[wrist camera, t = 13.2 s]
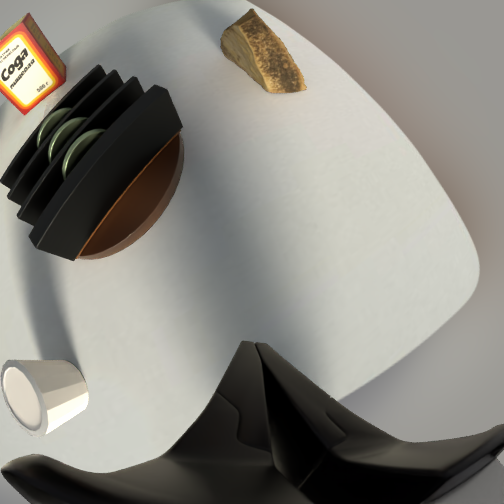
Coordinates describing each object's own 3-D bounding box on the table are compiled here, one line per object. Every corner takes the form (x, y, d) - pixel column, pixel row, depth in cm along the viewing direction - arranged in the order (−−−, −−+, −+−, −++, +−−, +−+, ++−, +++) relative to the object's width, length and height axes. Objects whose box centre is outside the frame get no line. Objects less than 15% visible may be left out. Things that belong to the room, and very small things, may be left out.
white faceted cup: (38, 377, 20) (-7, 385, 13) (62, 339, 20) (12, 342, 14) (76, 428, 18) (34, 449, 12) (105, 395, 19) (58, 415, 12)
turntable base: (192, 239, 22) (187, 234, 20) (39, 272, 22) (30, 270, 21) (181, 89, 26) (178, 80, 24) (56, 136, 26) (50, 131, 24)
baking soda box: (24, 115, 28) (-25, 64, 12) (27, 97, 29) (-15, 49, 14) (65, 81, 29) (21, 20, 13) (65, 66, 30) (28, 10, 14)
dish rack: (186, 133, 22) (165, 83, 16) (80, 263, 20) (30, 246, 14) (118, 98, 24) (95, 60, 18) (33, 200, 22) (-5, 177, 16)
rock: (197, 43, 25) (199, 80, 21) (234, -10, 18) (248, 11, 15) (269, 71, 31) (287, 114, 27) (307, 29, 25) (338, 65, 21)
